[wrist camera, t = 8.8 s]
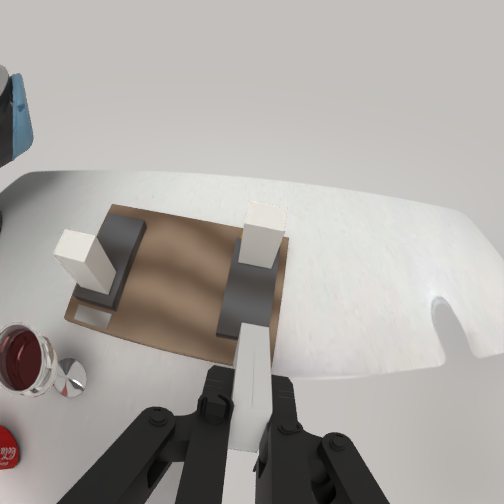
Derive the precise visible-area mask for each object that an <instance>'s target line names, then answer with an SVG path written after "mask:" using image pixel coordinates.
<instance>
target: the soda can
mask: <svg viewBox="0 0 504 504" xmlns="http://www.w3.org/2000/svg"><path fill="white" fill-rule="evenodd" d="M18 459H19V452H18V447H17V444H16V441H15V439H14V437H13V436H12V434H11V433H10V432H9V431H8V430H7V429H6V428H5V427H3V426H0V470H2V469H10V468H14V467H15V466H16V465H17V463H18Z"/></svg>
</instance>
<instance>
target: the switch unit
mask: <svg viewBox="0 0 504 504" xmlns="http://www.w3.org/2000/svg"><path fill="white" fill-rule="evenodd" d="M242 235H243V228H238V227H233V226H228V225H223V224H218V223H213V222H207V221H202V220H197V219H192V218H186V217H181V216H176V215H170V214H165V213H160V212H154V211H149V210H143V209H137V208H132V207H126V206H121V205H115V204H112V205H111V207H110V209H109V211H108V213H107V215H106V217H105V220H104V222H103V224H102V226H101V228H100V230H99V232H98V234H97V236H96V237H97V239H98V241H99V243H100V244H101V246H102V248H103V250H104V252H105V253H106V255H107V257H108V259H109V260H110V262H111V264H112V265H113V267H114V269H115V271H116V275H115V277H114V280H113V283H112V286H111V288H110V291H109V294H108V295H107V294H104V293H100V292H97V291H93V290H90V289H86V288H83V287H80V286H79V284H78V283H76V286H75V289H74V291H73V294H72V297H71V299H70V302H69V305H68V308H67V310H66V313H65V316H64V318H65V319H66V320H67V321H69V322H72V323H75V324H78V325H81V326H84V327H87V328H90V329H92V330H96V331H99V332H102V333H105V334H108V335H111V336H114V337H118V338H121V339H124V340H128V341H131V342H134V343H138V344H142V345H145V346H149V347H152V348H156V349H160V350H164V351H168V352H172V353H176V354H180V355H184V356H188V357H193V358H197V359H202V360H206V361H211V362H216V363H221V364H226V365H231V366H233V361H234V356H235V352H236V347H237V343H238V338H239V333H240V329H241V324H242V323H247V324H252V325H258V326H263V327H269V340H270V363H271V368H272V362H273V355H274V348H275V341H276V334H277V327H278V320H279V313H280V305H281V298H282V290H283V282H284V275H285V266H286V258H287V250H288V241H289V238H288V237H283V238H282V241H281V244H280V246H279V249H278V252H277V254H276V257H275V260H274V262H273V265H272V268H271V269H270V268H265V267H260V266H255V265H250V264H245V263H240V262H238V260H239V253H240V247H241V241H242Z"/></svg>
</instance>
